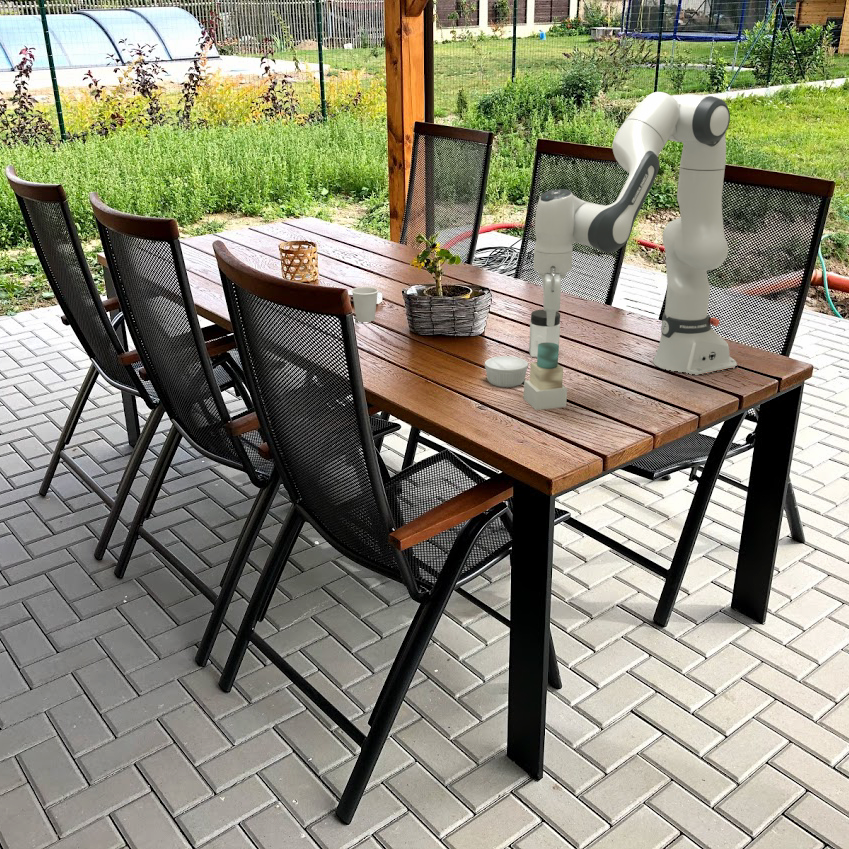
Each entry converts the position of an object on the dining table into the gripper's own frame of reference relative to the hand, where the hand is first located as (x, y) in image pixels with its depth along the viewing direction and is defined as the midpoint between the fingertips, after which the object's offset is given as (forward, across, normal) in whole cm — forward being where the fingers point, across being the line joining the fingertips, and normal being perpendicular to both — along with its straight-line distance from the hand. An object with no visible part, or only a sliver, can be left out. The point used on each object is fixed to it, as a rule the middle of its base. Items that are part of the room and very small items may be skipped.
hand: (550, 319), depth 220 cm
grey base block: (+22, 0, 0) cm, 22 cm away
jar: (+22, +38, 0) cm, 43 cm away
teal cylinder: (+12, 0, 0) cm, 12 cm away
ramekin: (+22, +14, +10) cm, 28 cm away
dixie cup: (+21, +64, +56) cm, 88 cm away
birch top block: (+17, 0, 0) cm, 17 cm away
